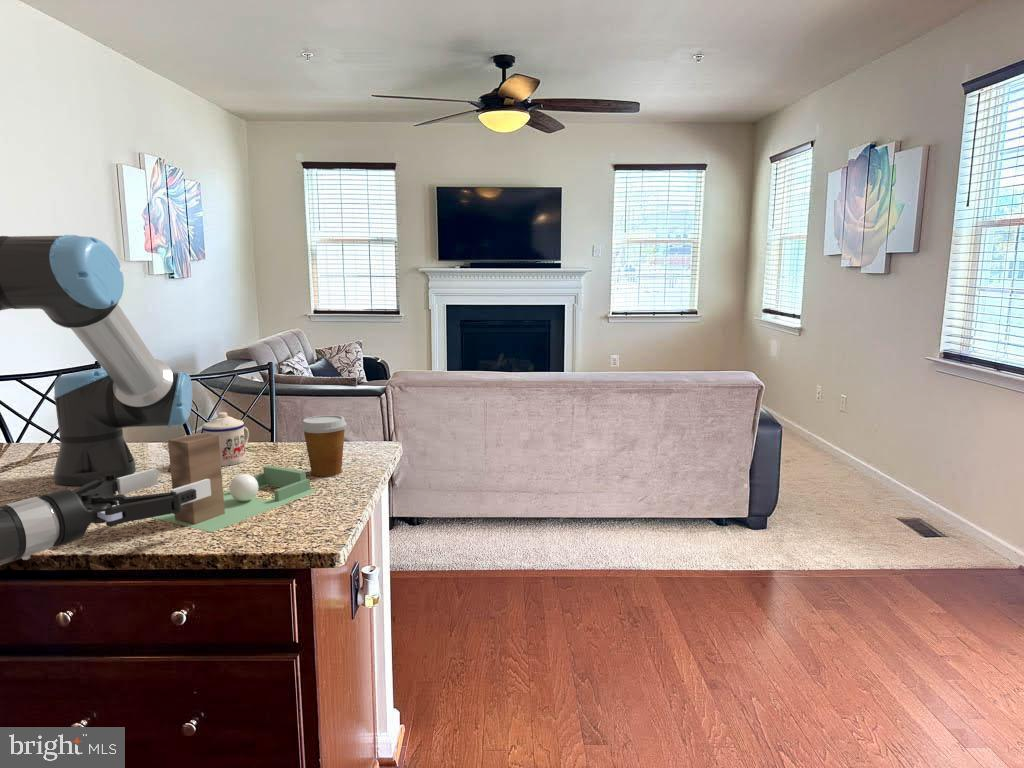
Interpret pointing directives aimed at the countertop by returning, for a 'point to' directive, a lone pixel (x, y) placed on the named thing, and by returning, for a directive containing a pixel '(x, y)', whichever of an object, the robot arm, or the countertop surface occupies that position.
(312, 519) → the countertop surface
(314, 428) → the disposable coffee cup
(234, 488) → the ball
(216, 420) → the teacup with lid
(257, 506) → the pad
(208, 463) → the walnut block
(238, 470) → the countertop surface
